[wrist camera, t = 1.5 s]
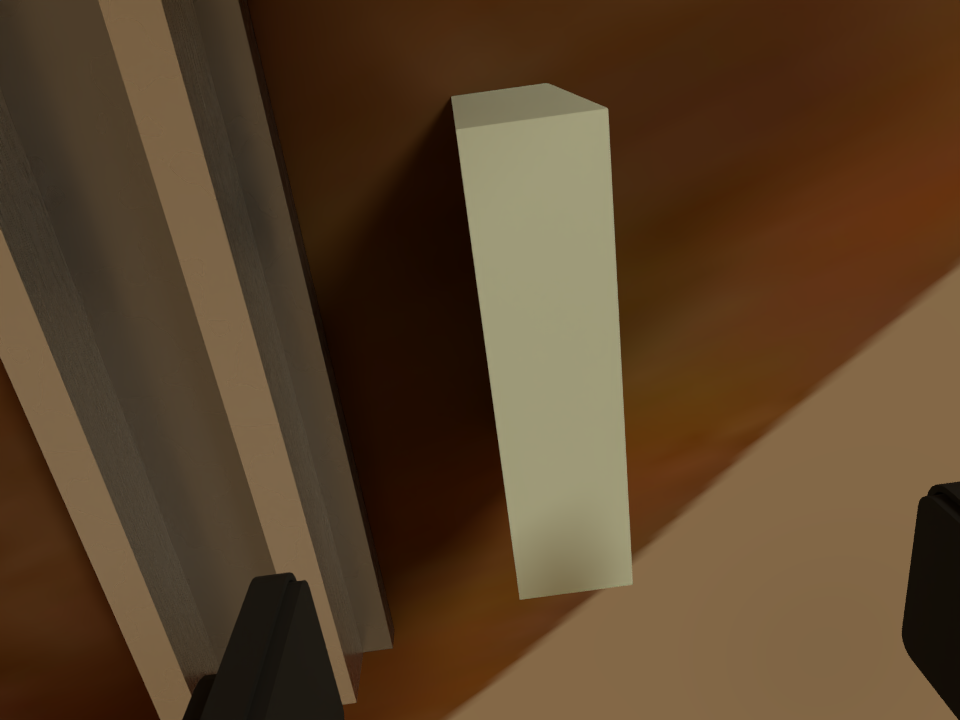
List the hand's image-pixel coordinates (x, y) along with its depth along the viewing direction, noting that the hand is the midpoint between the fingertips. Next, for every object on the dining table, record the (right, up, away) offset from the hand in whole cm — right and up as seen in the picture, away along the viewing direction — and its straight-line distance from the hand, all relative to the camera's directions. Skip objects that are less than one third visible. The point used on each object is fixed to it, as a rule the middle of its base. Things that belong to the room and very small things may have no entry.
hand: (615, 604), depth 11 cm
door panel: (-1, +7, +14) cm, 15 cm away
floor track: (-13, +5, +14) cm, 19 cm away
